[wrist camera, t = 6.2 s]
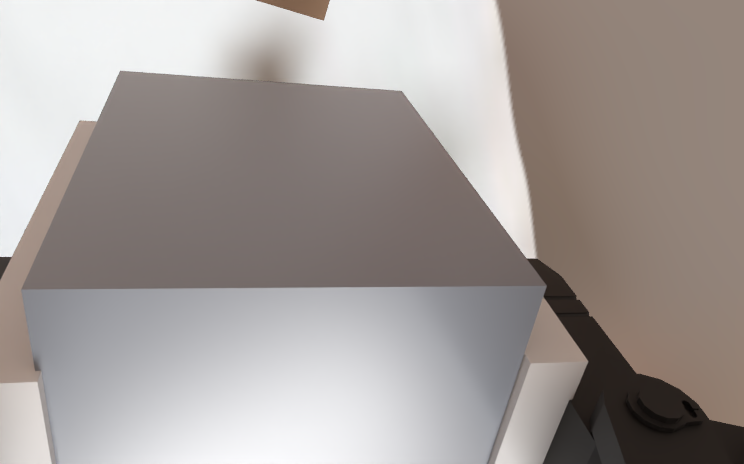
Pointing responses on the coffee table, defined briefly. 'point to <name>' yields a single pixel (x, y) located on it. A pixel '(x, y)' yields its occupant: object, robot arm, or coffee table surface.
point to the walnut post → (302, 6)
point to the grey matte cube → (274, 284)
